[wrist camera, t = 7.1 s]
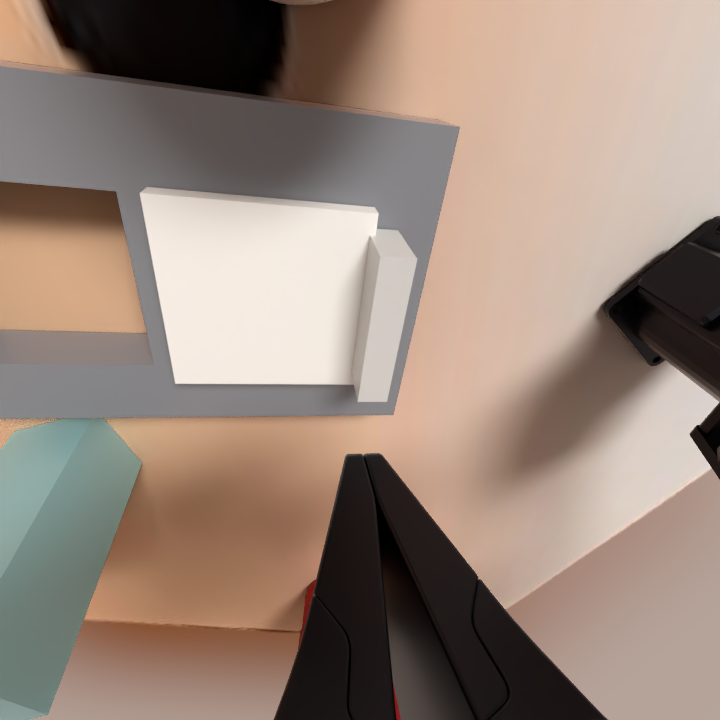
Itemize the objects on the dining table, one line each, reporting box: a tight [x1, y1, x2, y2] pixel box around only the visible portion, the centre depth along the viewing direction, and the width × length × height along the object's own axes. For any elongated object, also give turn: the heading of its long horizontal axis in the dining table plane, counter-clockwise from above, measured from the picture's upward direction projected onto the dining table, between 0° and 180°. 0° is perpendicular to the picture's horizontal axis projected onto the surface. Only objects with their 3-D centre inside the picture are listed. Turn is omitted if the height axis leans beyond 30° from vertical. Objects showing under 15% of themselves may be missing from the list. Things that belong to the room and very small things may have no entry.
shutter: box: [140, 187, 417, 402], centre depth 15 cm, size 8×8×3 cm
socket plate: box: [0, 60, 460, 419], centre depth 16 cm, size 19×13×2 cm
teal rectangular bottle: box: [0, 418, 142, 720], centre depth 17 cm, size 5×4×12 cm
